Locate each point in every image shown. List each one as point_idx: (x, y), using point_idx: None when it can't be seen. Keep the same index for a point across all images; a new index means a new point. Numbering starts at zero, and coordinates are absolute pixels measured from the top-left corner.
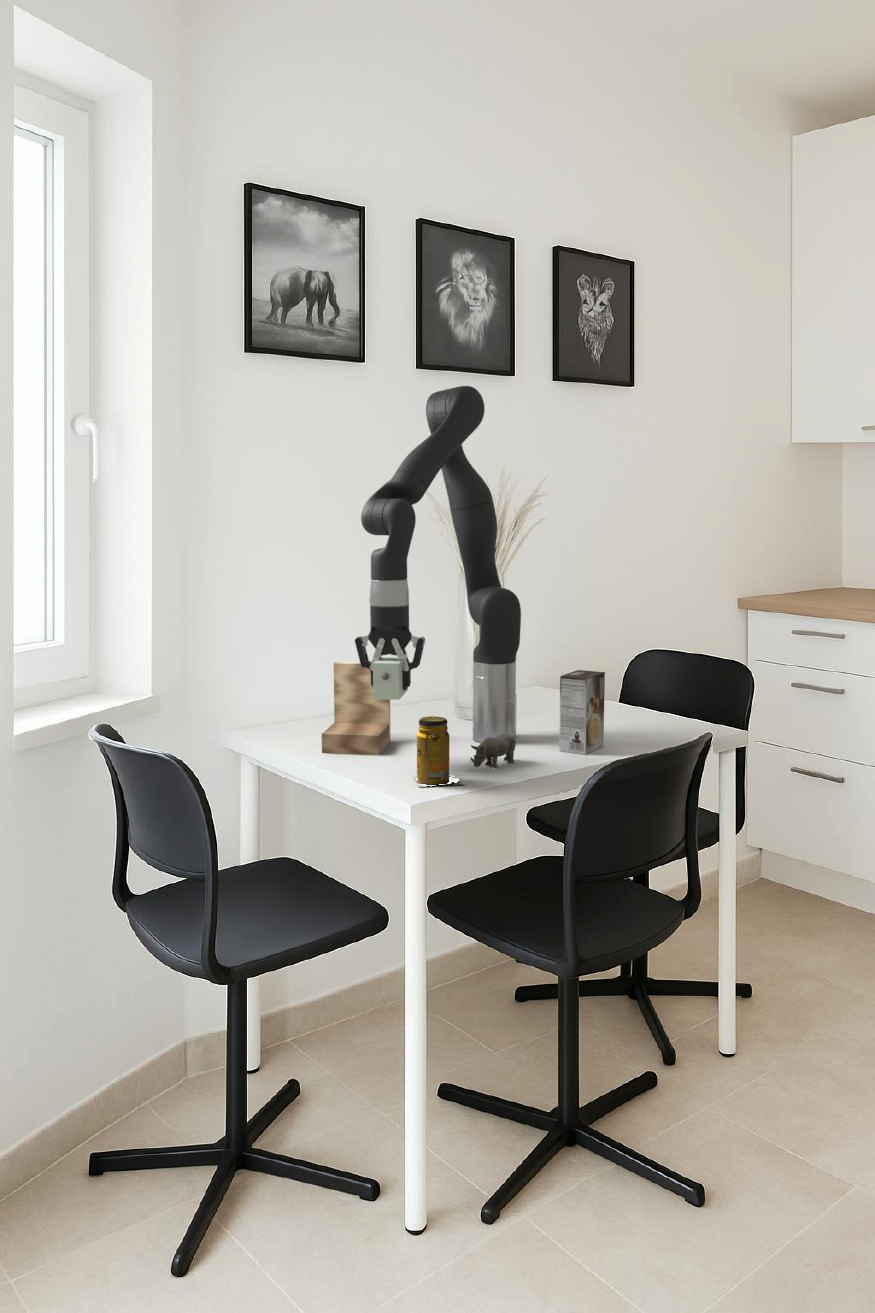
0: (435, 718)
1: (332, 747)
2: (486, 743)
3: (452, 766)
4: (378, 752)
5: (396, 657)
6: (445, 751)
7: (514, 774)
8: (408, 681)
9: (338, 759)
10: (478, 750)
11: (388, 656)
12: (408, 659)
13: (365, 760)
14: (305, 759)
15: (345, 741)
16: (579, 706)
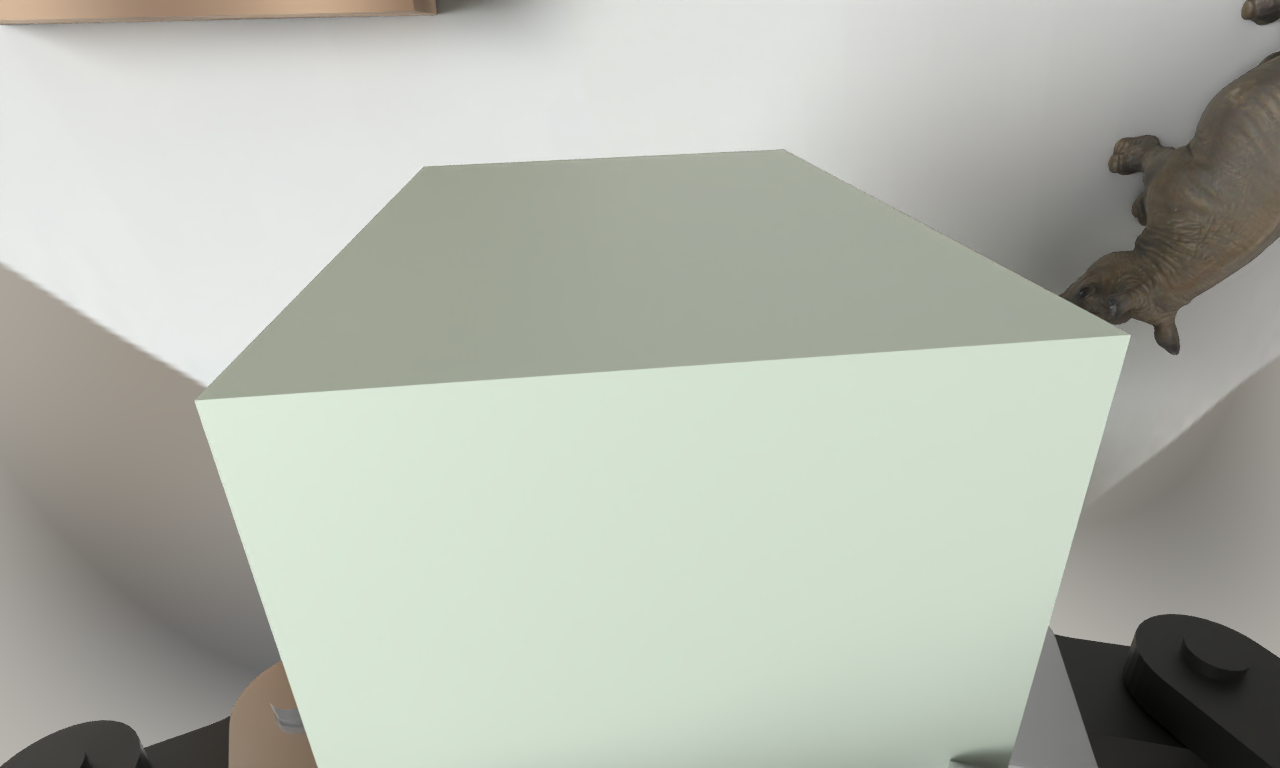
0: None
1: (60, 22)
2: (1215, 284)
3: (930, 223)
4: (432, 14)
5: (795, 705)
6: None
7: (1218, 315)
8: None
9: (222, 191)
10: (1134, 317)
11: (520, 613)
12: (1090, 757)
13: (403, 183)
14: (11, 233)
15: (143, 18)
16: None
